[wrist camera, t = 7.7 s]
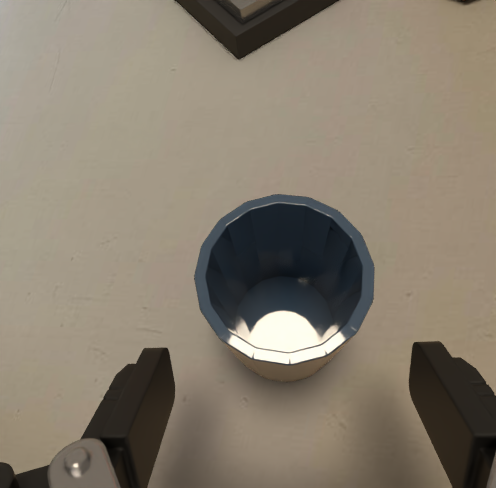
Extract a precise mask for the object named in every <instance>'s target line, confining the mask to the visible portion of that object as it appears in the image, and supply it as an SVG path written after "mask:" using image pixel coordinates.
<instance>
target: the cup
mask: <svg viewBox="0 0 496 488" xmlns="http://www.w3.org/2000/svg"><path fill="white" fill-rule="evenodd" d="M374 268H375V267H374V263H373V261H372V258H371V256H370V254H369V251H368V249H367V246H366V244H365V241H364V239H363V236H362V235H361V233H360V232H359V231H358V230H357V229H356V228H355V227H354V226H353V225H352V224H351V223H350V222H349V221H348V220H347V219H346V218H345V217H344V216H343V215H342V214H341V213H340V212H338V210H336V209H334V208H331V207H329V206H327V205H325V204H323V203H321V202H319V201H316V200H314V199H312V198H309V197H303V196H292V195H281V194H275V195H271V196H267V197H263V198H259V199H255V200H251V201H247V202H245V203H243V204H242V205H241V206H239V207H238V208H236V209H235V210H233V211H232V212H230V213H229V214H227V215H226V216H224V217H223V218H221V219H220V220H219V221H218V223H217V224H216V225H215V227H214V228H213V230H212V231H211V233H210V234H209V235H208V237H207V238H206V240H205V241H204V243H203V244H202V246H201V249H200V253H199V258H198V262H197V267H196V271H195V275H194V277H195V278H194V280H195V285H196V291H197V296H198V301H199V307H200V310H201V312H202V314H203V315H204V317H205V318H206V320H207V321H208V323H209V324H210V326H211V327H212V329H213V330H214V332H215V333H216V335H217V336H218V338H219V339H220V340H221V341H222V342H223V343H224V344H225V345H226V346H227V347H228V348H229V349H230V351H231V352H232V353H233V354H234V355H235V356H236V357H237V358H238V359H239V360H240V361H241V362H242V363H243V364H244V365H245V366H246V367H247V368H249V369H250V370H252V371H253V372H255V373H256V374H258V375H260V376H261V377H263V378H265V379H269V380H274V381H280V382H291V381H297V380H301V379H304V378H307V377H310V376H312V375H313V374H314V373H315V372H317V371H318V370H319V369H320V368H322V367H323V366H324V365H325V364H327V363H328V362H329V361H330V360H331V359H332V358H333V357H334V356H335V355H336V354H337V353H338V352H339V351H340V350H341V349H342V348H343V347H344V346H345V345H346V344H347V343H348V342H349V340H350V339H351V338H352V337H353V336H354V335H355V334H356V333H357V332H358V330H359V328H360V326H361V324H362V322H363V320H364V318H365V316H366V314H367V313H368V311H369V309H370V307H371V305H372V303H373V299H374Z"/></svg>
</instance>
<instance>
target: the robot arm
mask: <svg viewBox="0 0 496 488" xmlns="http://www.w3.org/2000/svg"><path fill="white" fill-rule="evenodd" d="M409 390H410V395H411V398H412V401H413V403H414V405H415V408H416V410H417V412H418V414H419V416H420V418H421V420H422V423H423V425H424V427H425V429H426V431H427V433H428V435H429V438H430V440H431V442H432V444H433V446H434V448H435V450H436V453H437V455H438V457H439V459H440V461H441V463H442V465H443V468H444V470H445V472H446V474H447V476H448V478H449V480H450V482H451V485H452V487H453V488H496V396H495V395H494V392H493V391H492V389H491V388H490V387H489V385H487V384H486V381H485V380H484V379H483V377H482V376H481V375H480V373H479V372H478V371H477V369H476V368H474V367H473V366H472V365H470V364H469V363H467V362H466V361H465V360H463V359H462V358H452V357H451V355H450V354H449V352H448V351H447V350H446V348H445V347H444V345H443V344H442V343H441V342H439V341H435V342H414V344H413V347H412V356H411V365H410V374H409ZM174 398H175V382H174V377H173V371H172V365H171V360H170V354H169V350H168V349H167V348H145V349H143V351H142V353H141V355H140V357H139V359H138V361H137V363H136V364H128V365H127V366H125V367H124V368H123V369H122V370H121V371H120V372H119V373H118V374H117V375H116V376H115V378H114V380H113V381H112V383H111V385H110V387H109V390H108V391H107V392H106V394H105V396H104V399H103V400H102V401H101V403H100V405H99V407H98V409H97V410H96V412H95V414H94V416H93V418H92V419H91V421H90V423H89V425H88V427H87V428H86V430H85V432H84V434H83V436H82V437H81V439H80V440H78V441H75V442H73V443H71V444H69V445H68V446H66V447H65V448H63V449H62V450H61V451H60V452H59V453H58V454H57V455H56V456H55V457H54V459H53V460H52V462H51V463H50V465H47V466H44V467H41V468H37V469H34V470H30V471H27V472H23V473H20V474H17V475H15V474H14V471H13V469H12V467H11V466H10V465H9V464H7V463H3V462H0V488H147V486H148V483H149V480H150V476H151V473H152V470H153V467H154V464H155V461H156V457H157V454H158V451H159V448H160V445H161V442H162V438H163V435H164V432H165V429H166V426H167V423H168V419H169V416H170V413H171V410H172V407H173V403H174Z"/></svg>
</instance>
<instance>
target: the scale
mask: <svg viewBox="0 0 496 488" xmlns="http://www.w3.org/2000/svg"><path fill="white" fill-rule="evenodd" d="M177 1H178V2H179V3H180V4H181V5H182V6H183V7H184V8H185V9H186V10H187V11H188V12H189V13H190V14H192V15H193V16H194V17H195V18H196V19H197V20H198V21H199V22H200V23H201V24H202V25H203V26H204V27H205V28H206V29H207V30H209V31H210V32H211V33H212V34H213V35H214V36H215V37H216V38H217V39H218V40H219V41H220V42H221V43H222V44H223V45H224V46H226V47H227V48H228V49H229V50H230V51H231V52H232V53H233V54H234V55H235V56H236V57H237V58H238V59H240V58H241V57H243V56H245V55H246V54H248V53H250V52H251V51H253V50H255V49H257V48H258V47H260V46H262V45H263V44H265V43H267V42H268V41H270V40H272V39H273V38H275V37H277V36H278V35H280V34H282V33H284V32H285V31H287V30H289V29H290V28H292V27H294V26H295V25H297V24H299V23H300V22H302V21H304V20H306V19H307V18H309V17H311V16H312V15H314V14H316V13H317V12H319V11H321V10H322V9H324V8H326V7H327V6H329V5H331V4H333V3H334V2H336V1H338V0H177Z"/></svg>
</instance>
